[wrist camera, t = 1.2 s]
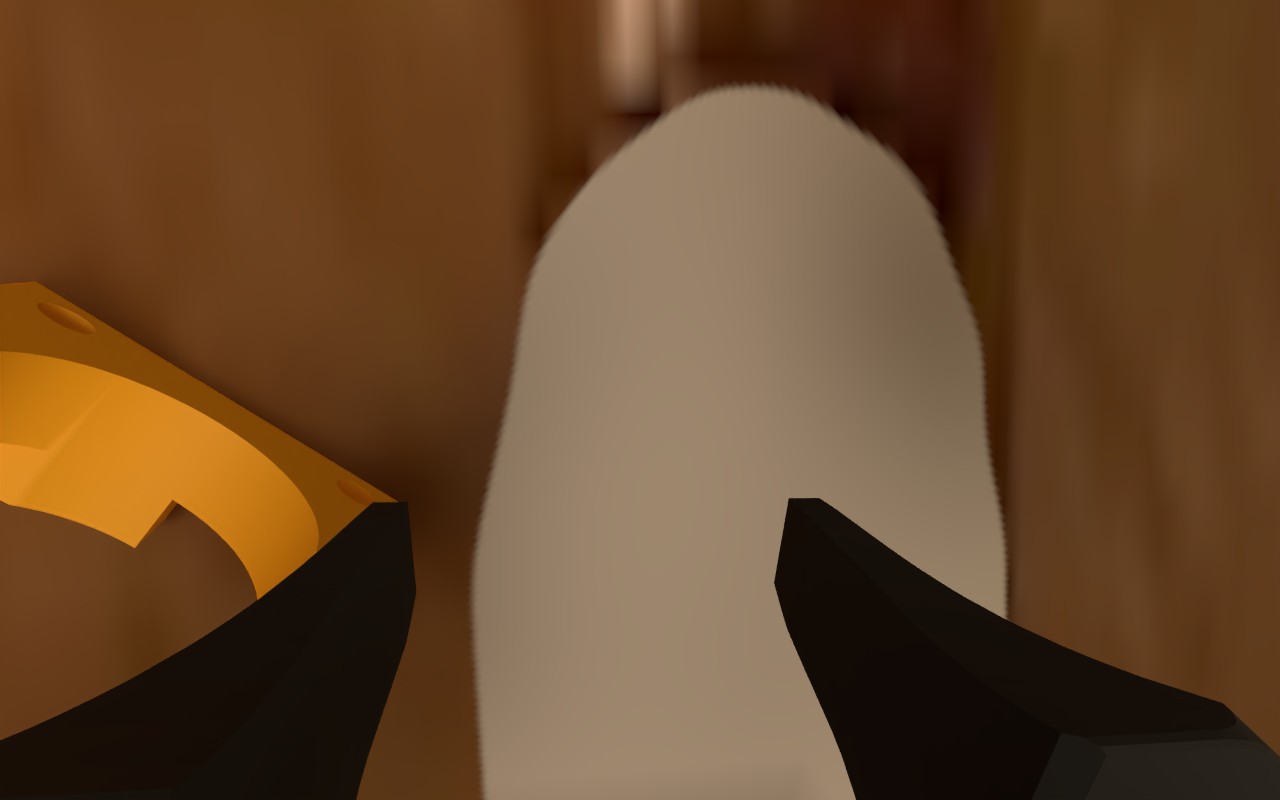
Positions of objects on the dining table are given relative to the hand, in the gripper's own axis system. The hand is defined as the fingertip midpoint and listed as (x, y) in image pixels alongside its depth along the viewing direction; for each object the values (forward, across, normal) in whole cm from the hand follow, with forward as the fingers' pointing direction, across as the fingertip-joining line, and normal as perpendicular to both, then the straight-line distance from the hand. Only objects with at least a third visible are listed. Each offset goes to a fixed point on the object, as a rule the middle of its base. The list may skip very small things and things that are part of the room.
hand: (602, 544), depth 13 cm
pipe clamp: (+10, +12, +4) cm, 16 cm away
